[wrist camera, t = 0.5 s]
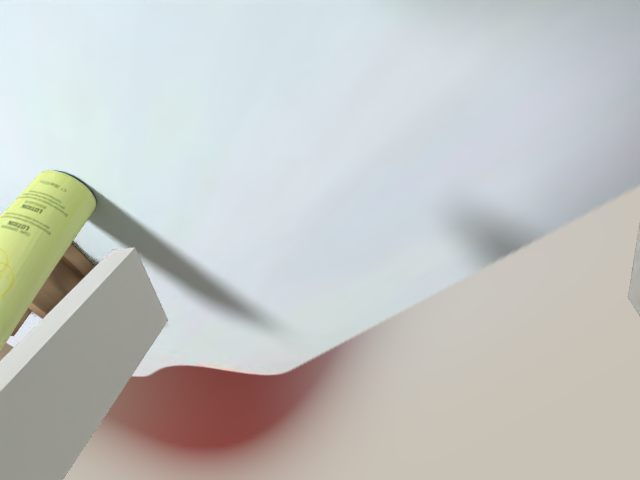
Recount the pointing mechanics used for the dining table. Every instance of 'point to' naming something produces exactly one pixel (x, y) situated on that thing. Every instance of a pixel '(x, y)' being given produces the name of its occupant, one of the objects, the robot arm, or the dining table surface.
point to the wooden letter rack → (59, 283)
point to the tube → (37, 240)
